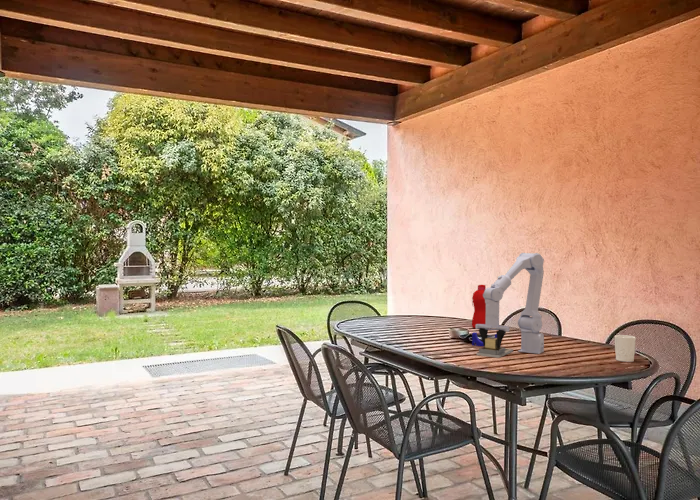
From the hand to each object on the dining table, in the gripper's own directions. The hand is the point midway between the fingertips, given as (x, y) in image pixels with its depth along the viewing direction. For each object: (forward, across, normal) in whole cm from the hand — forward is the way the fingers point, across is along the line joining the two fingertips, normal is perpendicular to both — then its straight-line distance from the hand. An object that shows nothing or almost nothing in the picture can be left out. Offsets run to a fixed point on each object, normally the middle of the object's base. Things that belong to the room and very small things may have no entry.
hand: (491, 346), depth 244 cm
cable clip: (+4, -10, +20) cm, 22 cm away
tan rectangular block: (+2, 0, 0) cm, 2 cm away
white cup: (+4, +49, +22) cm, 54 cm away
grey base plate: (+3, 0, +4) cm, 5 cm away
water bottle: (+4, -34, +74) cm, 81 cm away
